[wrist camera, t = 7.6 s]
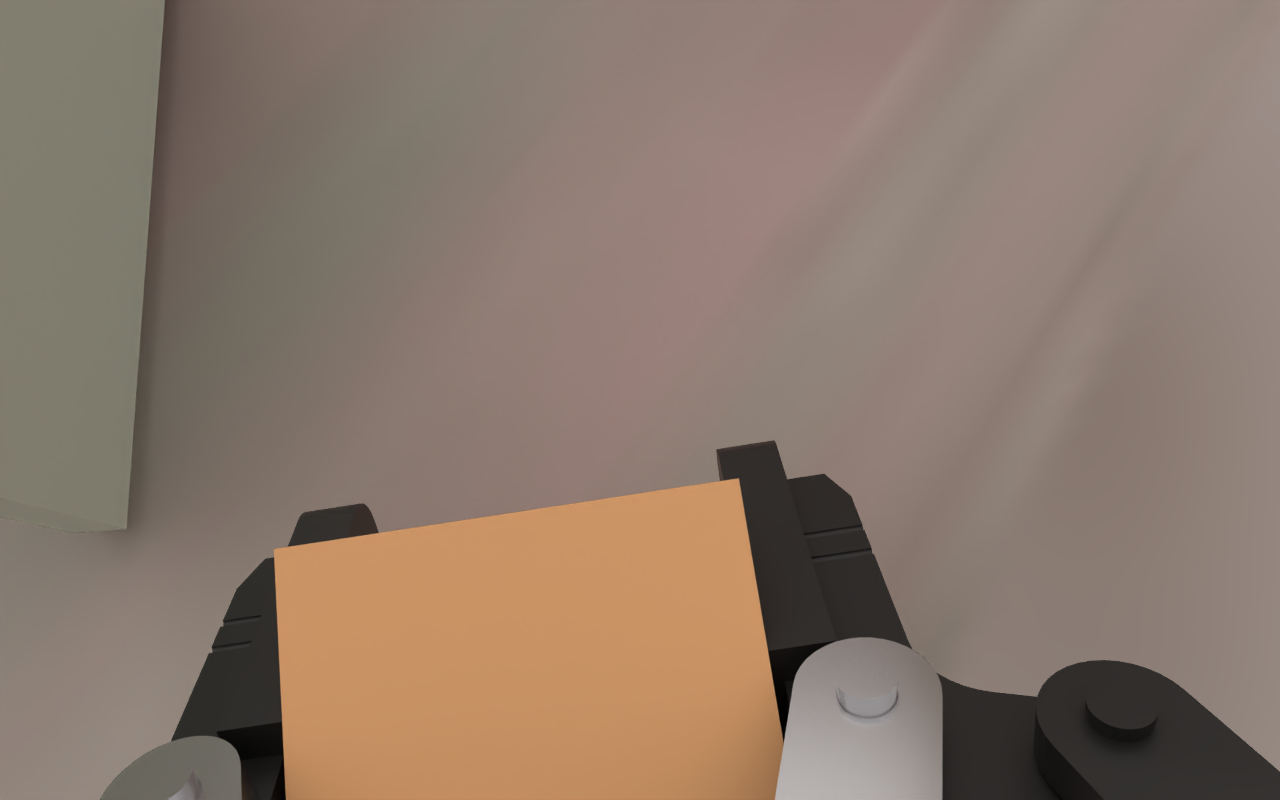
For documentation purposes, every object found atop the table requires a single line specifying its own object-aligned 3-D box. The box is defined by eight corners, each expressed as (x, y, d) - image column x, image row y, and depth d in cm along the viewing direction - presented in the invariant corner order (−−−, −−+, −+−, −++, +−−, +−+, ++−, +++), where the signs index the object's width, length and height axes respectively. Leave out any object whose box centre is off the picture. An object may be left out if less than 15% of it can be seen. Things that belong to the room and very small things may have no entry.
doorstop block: (495, 887, 16) (299, 1077, 9) (467, 604, 18) (273, 549, 10) (773, 848, 16) (826, 1005, 9) (727, 566, 17) (738, 477, 10)
